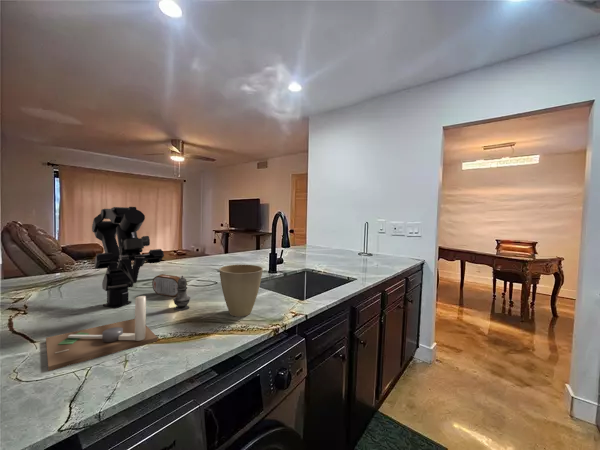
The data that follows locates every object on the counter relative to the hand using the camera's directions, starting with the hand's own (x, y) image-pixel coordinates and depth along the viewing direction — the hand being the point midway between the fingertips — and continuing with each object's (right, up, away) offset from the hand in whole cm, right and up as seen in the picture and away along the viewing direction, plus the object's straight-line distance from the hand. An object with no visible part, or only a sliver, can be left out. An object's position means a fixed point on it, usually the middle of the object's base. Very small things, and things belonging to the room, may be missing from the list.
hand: (134, 282), depth 85 cm
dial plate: (0, -13, -14) cm, 19 cm away
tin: (-3, -11, +28) cm, 30 cm away
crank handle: (+2, -11, -15) cm, 19 cm away
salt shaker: (+9, -12, +13) cm, 20 cm away
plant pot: (+31, -13, +10) cm, 35 cm away
